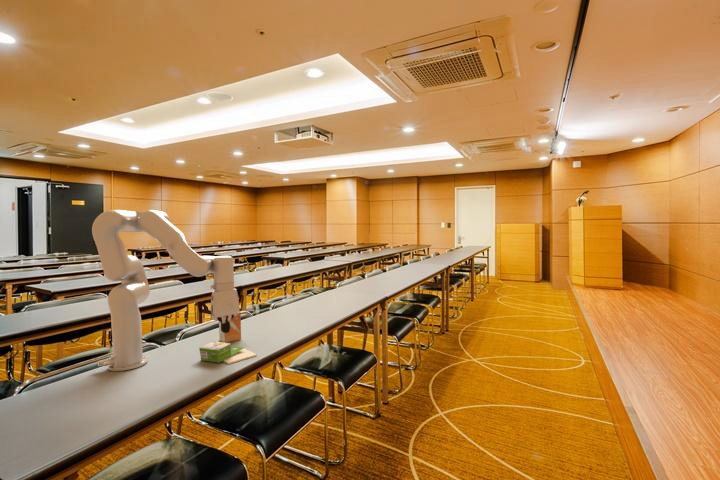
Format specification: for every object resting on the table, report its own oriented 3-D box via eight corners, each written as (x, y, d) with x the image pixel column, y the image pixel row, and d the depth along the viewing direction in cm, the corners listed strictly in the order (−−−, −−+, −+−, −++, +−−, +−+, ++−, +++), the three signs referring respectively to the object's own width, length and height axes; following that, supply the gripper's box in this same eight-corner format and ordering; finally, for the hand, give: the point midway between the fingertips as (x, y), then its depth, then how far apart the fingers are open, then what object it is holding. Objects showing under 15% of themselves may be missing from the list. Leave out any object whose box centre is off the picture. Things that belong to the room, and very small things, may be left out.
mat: (228, 364, 134) (228, 362, 134) (213, 355, 144) (213, 354, 144) (256, 355, 143) (256, 354, 143) (240, 348, 153) (240, 346, 152)
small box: (224, 343, 160) (223, 315, 159) (219, 340, 164) (218, 312, 164) (241, 339, 165) (240, 311, 165) (235, 336, 170) (235, 309, 170)
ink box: (198, 348, 138) (225, 334, 151) (200, 360, 139) (227, 346, 152) (217, 350, 134) (243, 336, 146) (219, 363, 135) (245, 348, 147)
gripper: (209, 290, 132) (210, 338, 133) (246, 285, 143) (247, 329, 143) (201, 288, 137) (202, 334, 138) (237, 283, 148) (238, 326, 148)
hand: (225, 332), depth 141 cm, fingers closed
